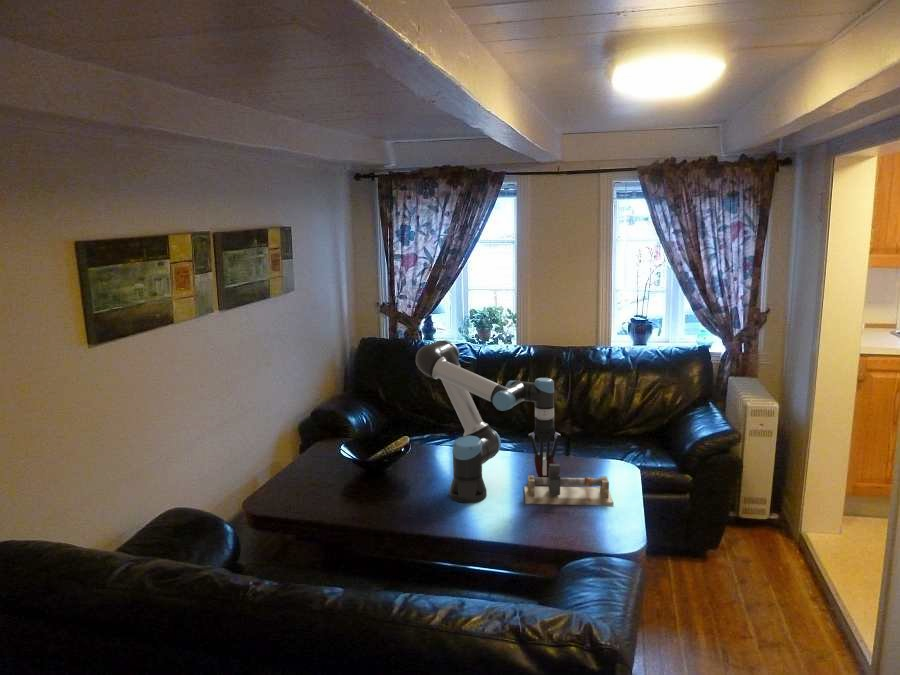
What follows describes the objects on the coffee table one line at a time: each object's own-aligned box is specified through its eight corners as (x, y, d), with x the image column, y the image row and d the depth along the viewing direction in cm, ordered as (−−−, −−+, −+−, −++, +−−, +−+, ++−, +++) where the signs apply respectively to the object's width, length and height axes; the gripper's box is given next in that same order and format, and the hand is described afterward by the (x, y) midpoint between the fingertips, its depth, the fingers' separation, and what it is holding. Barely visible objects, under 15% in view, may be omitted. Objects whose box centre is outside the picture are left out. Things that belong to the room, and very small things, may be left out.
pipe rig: (525, 503, 249) (525, 484, 248) (524, 488, 263) (524, 470, 262) (613, 505, 246) (614, 485, 245) (607, 490, 260) (608, 471, 259)
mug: (560, 475, 276) (560, 453, 274) (557, 482, 268) (557, 460, 267) (536, 473, 279) (536, 451, 278) (532, 480, 272) (532, 457, 270)
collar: (549, 494, 251) (550, 468, 249) (548, 486, 259) (548, 461, 257) (560, 495, 251) (560, 468, 249) (558, 486, 258) (558, 461, 256)
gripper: (528, 420, 246) (528, 477, 250) (562, 420, 245) (561, 478, 249) (527, 414, 254) (527, 470, 258) (560, 414, 253) (560, 470, 257)
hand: (544, 474), depth 254 cm, fingers closed
